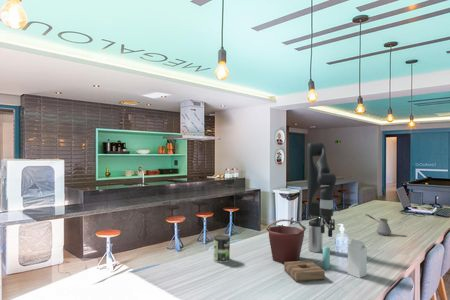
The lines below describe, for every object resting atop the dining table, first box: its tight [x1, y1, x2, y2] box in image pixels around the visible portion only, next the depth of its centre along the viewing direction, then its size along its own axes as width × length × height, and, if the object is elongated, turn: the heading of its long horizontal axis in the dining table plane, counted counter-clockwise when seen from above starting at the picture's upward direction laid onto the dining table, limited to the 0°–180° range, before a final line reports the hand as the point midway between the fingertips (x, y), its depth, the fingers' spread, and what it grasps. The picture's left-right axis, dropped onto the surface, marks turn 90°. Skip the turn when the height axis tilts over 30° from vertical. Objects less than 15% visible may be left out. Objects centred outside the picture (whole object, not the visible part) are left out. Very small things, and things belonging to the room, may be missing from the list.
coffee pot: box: [365, 213, 392, 237], centre depth 263 cm, size 21×12×15 cm, turn 42°
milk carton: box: [347, 238, 368, 279], centre depth 171 cm, size 7×7×19 cm
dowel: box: [322, 246, 331, 270], centre depth 180 cm, size 4×4×12 cm
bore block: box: [283, 260, 326, 283], centre depth 169 cm, size 16×16×5 cm
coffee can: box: [213, 234, 231, 264], centre depth 193 cm, size 10×10×14 cm
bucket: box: [265, 218, 307, 265], centre depth 195 cm, size 24×22×25 cm
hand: (326, 234), depth 181 cm, fingers open, 8 cm apart
